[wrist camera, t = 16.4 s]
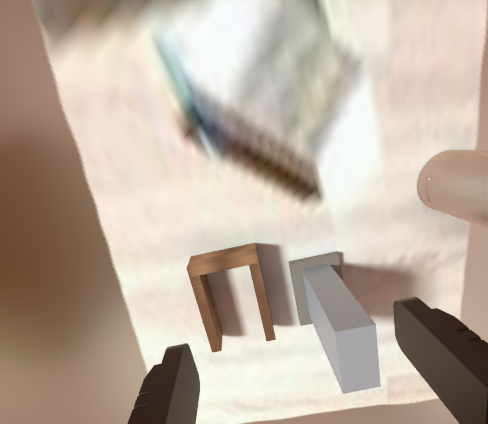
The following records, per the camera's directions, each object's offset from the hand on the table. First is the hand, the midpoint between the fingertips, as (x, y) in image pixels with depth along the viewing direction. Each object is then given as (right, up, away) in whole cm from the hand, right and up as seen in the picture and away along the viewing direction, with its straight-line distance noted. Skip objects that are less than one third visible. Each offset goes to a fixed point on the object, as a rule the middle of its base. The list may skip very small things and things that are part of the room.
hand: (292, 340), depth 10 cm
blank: (+11, -8, +33) cm, 36 cm away
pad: (+11, -8, +34) cm, 36 cm away
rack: (-3, -9, +34) cm, 35 cm away
